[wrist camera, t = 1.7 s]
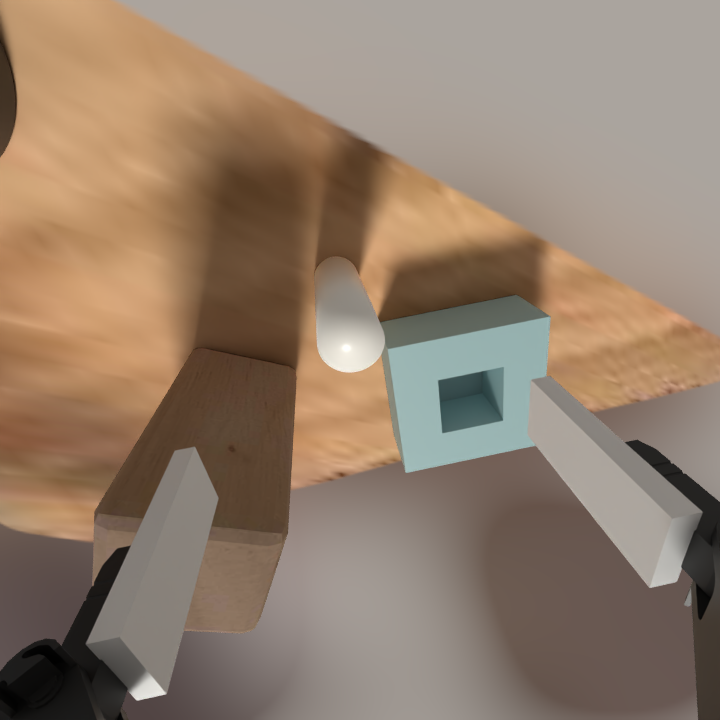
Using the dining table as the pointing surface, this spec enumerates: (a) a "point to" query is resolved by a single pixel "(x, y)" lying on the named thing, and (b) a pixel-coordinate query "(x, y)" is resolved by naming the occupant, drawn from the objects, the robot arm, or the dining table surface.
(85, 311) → the dining table surface
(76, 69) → the dining table surface
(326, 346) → the peg
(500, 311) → the socket
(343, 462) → the dining table surface
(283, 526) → the wooden block
